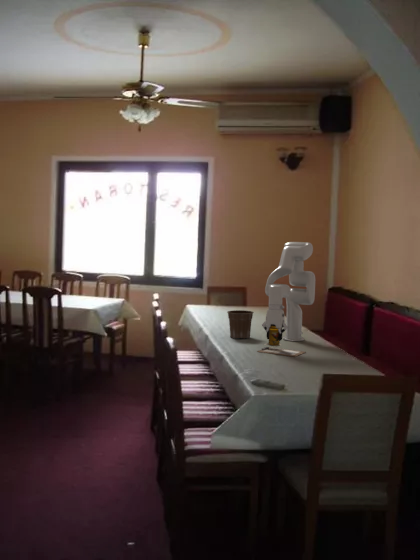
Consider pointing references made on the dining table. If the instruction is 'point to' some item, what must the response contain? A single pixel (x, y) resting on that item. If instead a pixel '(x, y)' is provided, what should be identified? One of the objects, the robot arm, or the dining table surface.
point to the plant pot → (240, 323)
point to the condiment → (273, 336)
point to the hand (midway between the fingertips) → (274, 339)
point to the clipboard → (281, 351)
